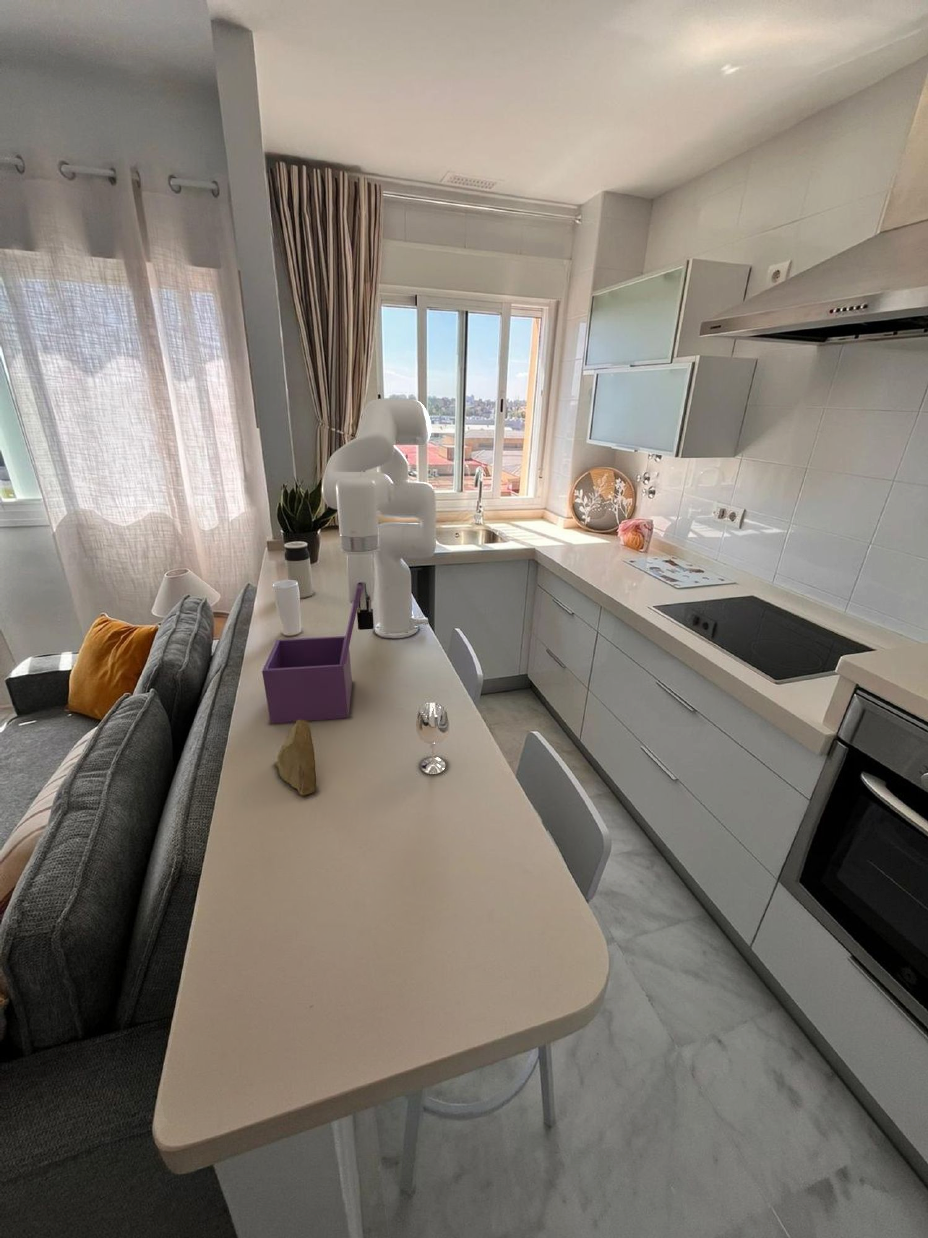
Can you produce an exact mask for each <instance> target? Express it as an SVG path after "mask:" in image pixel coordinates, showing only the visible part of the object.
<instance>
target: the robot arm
mask: <svg viewBox="0 0 928 1238" xmlns="http://www.w3.org/2000/svg"><path fill="white" fill-rule="evenodd" d="M431 434H432V423H431V418H430V416H429V413H428V411H427V409H426V408H425V406H424V405H423V404H422V402H421V401H419V400H417V399H413V398H375V399H373V400H370V401H368V403H367V404H366V406H365V407H364V409H363V412H362V416H361V420H360V424H359V428H358V431H357V436H356V437H355V438H353V439H352V440H349V441H348V442H347V443H345V444H344V445H342V446H341V447H339V448H338V449H336V450H335V451H334V452H333V453H332V454H331V456H330V457H329V459H328V461H327V463H326V467H325V470H324V474H323V477H322V484H321V494H322V499H323V501H324V503H325V504H326V505H327V506H328V507H329V508H330V509H333V510H337V518H338V519H337V520H338V531H339V543H340V552H341V553H343V554H346V576H347V591H348V602H349V603H350V604H352V603H353V602H354V599H355V594H356V590H357V585H358V583H362V588H361V593H360V598H359V602H358V607H357V612H356V619H357V629H358V630H360V631H364V630H365V631H366V630H373V629H374V633H375V634H376V635H377V636H379V637H381V638H386V639H403V638H408V637H410V636H412V635H414V634H416V633H417V632H418V631H419V626H420V625H429V618H428V617H424V615H417V616H416V615H414V611H413V595H412V593H413V592H412V573H411V570H410V569H411V568H409V566H408V564H407V563H406V562H405V561H404V559H429V558H431V557H433V556H434V554H435V552H436V547H437V546H436V545H437V498H436V497H437V496H436V491H435V489H434V487H433V485H431V484H430V483H428V482H423V481H410V480H409V462H408V460H407V458H406V457H405V455H404V453H402V451H401V450H400V449H399V448H398V447H397V446H424V445H426V444H427V443H428V442H429V441H430V438H431ZM375 468H376V472H375V471H369V470H373V469H375ZM378 513H379V514H380V515H381V516H383V517H386V518H396V519H399V518H401V519H417V520H418V521H419V522H390V521H389V522H382V523H379V514H378ZM375 569H376V571H375ZM375 572H376V573H375ZM376 582H377V585H376V586H377V599H378V602H377V603H378V618H379V619H378V620H379V621H378V622H377V623H376V624H375V622H374V609H373V608H372V602H373V601H374V597H375V584H376ZM418 625H419V626H418Z"/></svg>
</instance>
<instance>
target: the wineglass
mask: <svg viewBox="0 0 928 1238" xmlns="http://www.w3.org/2000/svg"><path fill="white" fill-rule="evenodd" d="M415 730H416V734H417V736H418V737H419V740H421V741H422V742H424V743H426V744H429V746H430V750H431V757H429V758H426V759H424V760H423V761H422V762H421V764H420V769H421V770H422V771H423V772H424V773H425V774H428V775H437V774H440V773H442V772H443V771H445V769H446V765H447V764H446V762H445V761H444V760H443V759H441V758H439V757H435V750H436V746H437V744H439V743H441V742H443V741H444V740H445V739H446V738H447V737H448V735H449V731H450V720H449V715H448V711H447V708H446V706H445V705H443V704H442V703H439V702H427V703H424V704H422V705H421V706H420V707H419V708H418V712H417V716H416V722H415Z"/></svg>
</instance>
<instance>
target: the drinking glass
mask: <svg viewBox="0 0 928 1238" xmlns="http://www.w3.org/2000/svg"><path fill="white" fill-rule="evenodd" d="M272 590H273V598H274V602H275V607H276V610H277V614H278V615H277V616H278V619H279V624H280V626H281V627H280V628H281V632H282V633H281V634H283V635H284V636H288V637H289V636H290V637H291V636H296V635H299V634H300V633H301V632H302V621H301V620H302V619H301V598H300V594H299V587H298V582H297V581H294V580H288V579H282V580H278V581H275V582H274V583H272Z"/></svg>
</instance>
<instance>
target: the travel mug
mask: <svg viewBox="0 0 928 1238" xmlns="http://www.w3.org/2000/svg"><path fill="white" fill-rule="evenodd" d="M283 547H284V549H285V551H284V554H283V555H284V562H285V569H286V578H287V580H294V581H297V582H298V587H299V594H300V599H302V598H303V599H304V598H308V597H311V596H312V595H313V594H314V585H313V584H314V583H313V575H312V568H311V558H310V557H311V556H310V551H308V548H307V547H308V543H307V542H305V541H289V542H286V543H284V545H283Z"/></svg>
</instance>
